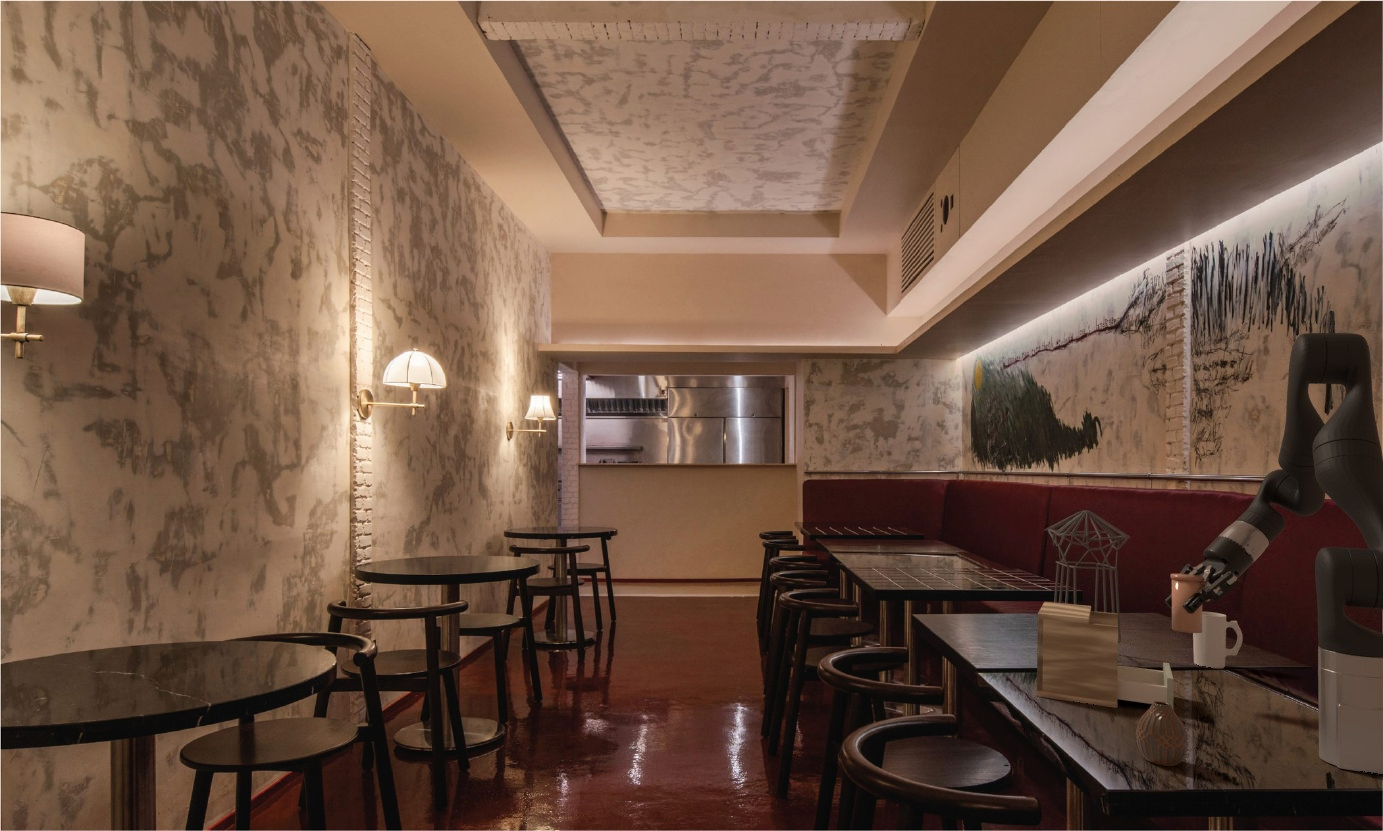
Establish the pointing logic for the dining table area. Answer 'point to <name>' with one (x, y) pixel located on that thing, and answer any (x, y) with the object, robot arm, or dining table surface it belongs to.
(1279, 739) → the dining table surface
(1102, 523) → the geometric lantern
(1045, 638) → the housing
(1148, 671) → the tray
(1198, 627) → the canister
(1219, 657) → the mug
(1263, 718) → the dining table surface
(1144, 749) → the vase
